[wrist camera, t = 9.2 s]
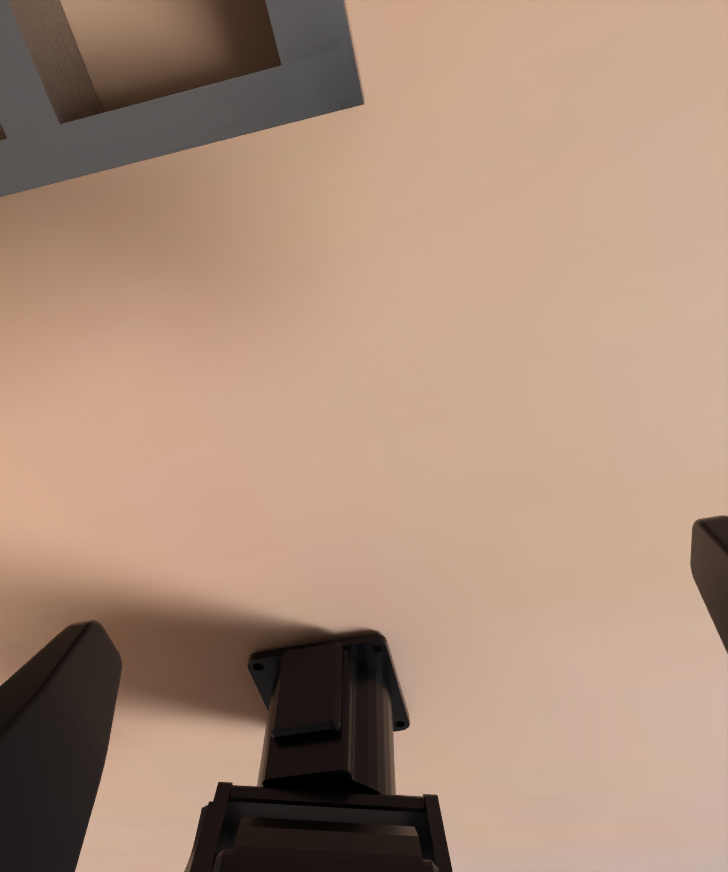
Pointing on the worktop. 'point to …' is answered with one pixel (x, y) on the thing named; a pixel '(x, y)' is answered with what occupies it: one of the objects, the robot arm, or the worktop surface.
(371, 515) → the worktop surface
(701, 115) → the worktop surface
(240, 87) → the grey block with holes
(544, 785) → the worktop surface
